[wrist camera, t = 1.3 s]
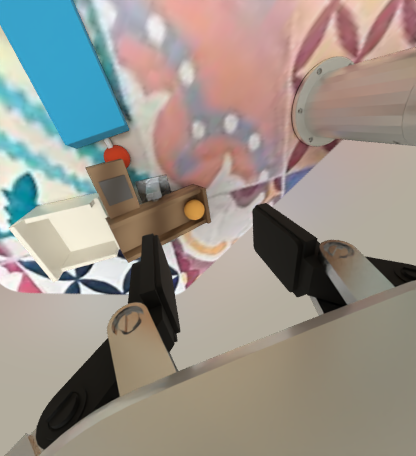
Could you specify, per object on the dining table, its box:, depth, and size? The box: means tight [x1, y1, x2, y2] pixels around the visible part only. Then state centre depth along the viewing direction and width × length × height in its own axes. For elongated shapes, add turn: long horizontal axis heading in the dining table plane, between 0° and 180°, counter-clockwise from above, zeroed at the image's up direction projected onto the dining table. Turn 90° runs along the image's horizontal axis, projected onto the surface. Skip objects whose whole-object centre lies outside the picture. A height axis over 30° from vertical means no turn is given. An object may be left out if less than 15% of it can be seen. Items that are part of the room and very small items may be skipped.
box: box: [9, 193, 120, 282], centre depth 28 cm, size 9×9×7 cm
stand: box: [135, 175, 175, 242], centre depth 31 cm, size 5×10×6 cm, turn 10°
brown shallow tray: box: [86, 159, 211, 263], centre depth 27 cm, size 14×12×5 cm
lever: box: [0, 0, 130, 168], centre depth 23 cm, size 7×7×18 cm
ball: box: [184, 200, 205, 220], centre depth 30 cm, size 3×3×3 cm
